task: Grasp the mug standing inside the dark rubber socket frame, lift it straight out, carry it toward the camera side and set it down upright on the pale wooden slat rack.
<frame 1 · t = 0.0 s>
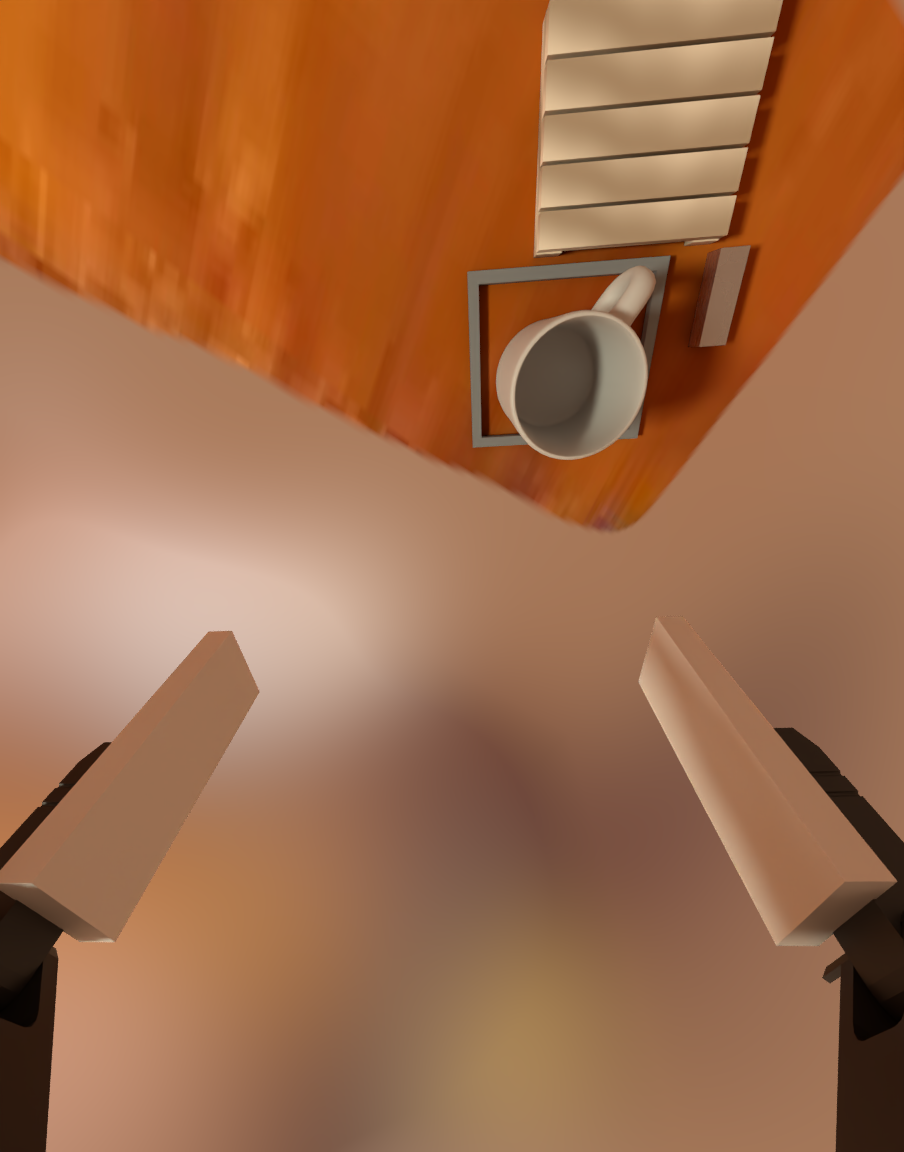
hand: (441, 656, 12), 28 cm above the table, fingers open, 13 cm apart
socket frame: (558, 362, 32), on the table
rack: (634, 145, 26), on the table
grey rectangular bar: (708, 301, 30), on the table
mug: (557, 358, 32), resting in socket frame
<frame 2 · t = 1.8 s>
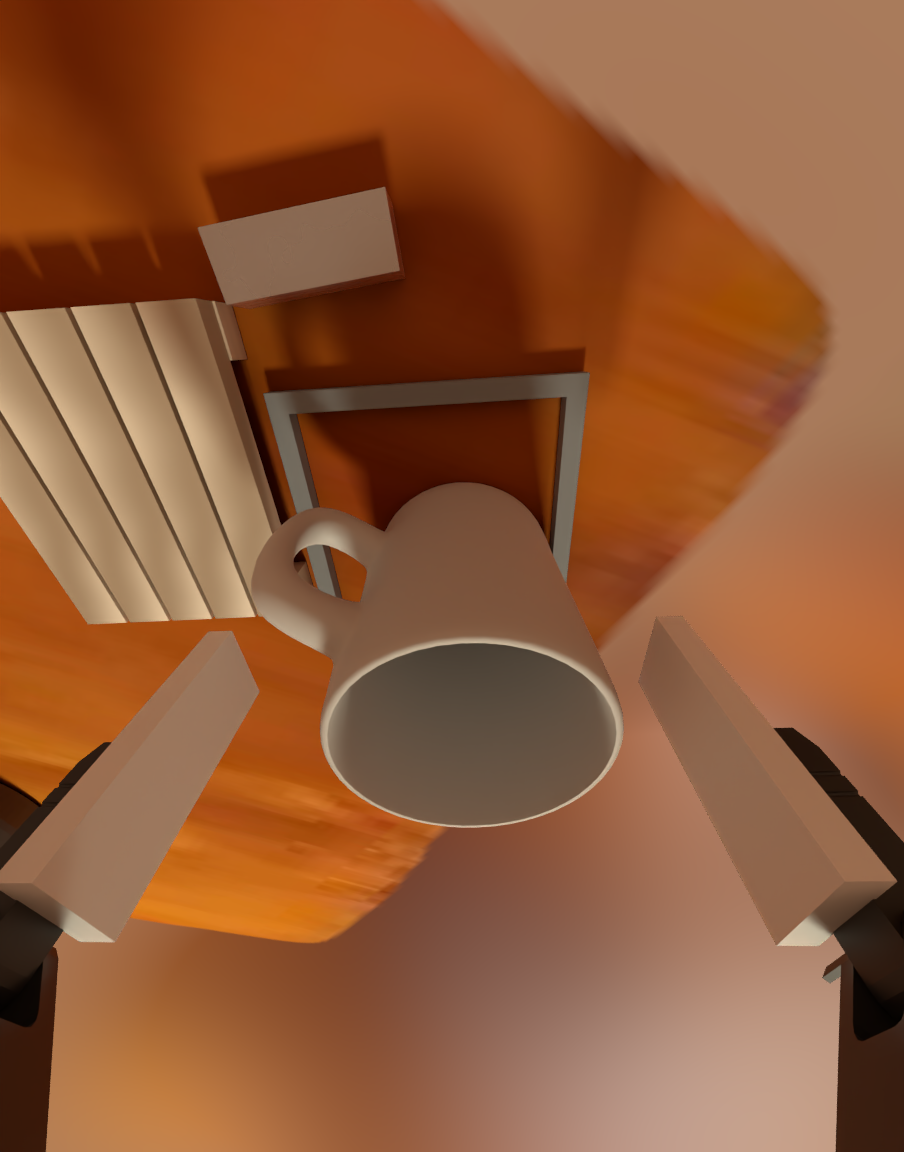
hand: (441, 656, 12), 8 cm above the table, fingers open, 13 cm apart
socket frame: (439, 544, 19), on the table
rack: (164, 480, 18), on the table
grey rectangular bar: (319, 261, 14), on the table
mug: (434, 542, 20), resting in socket frame
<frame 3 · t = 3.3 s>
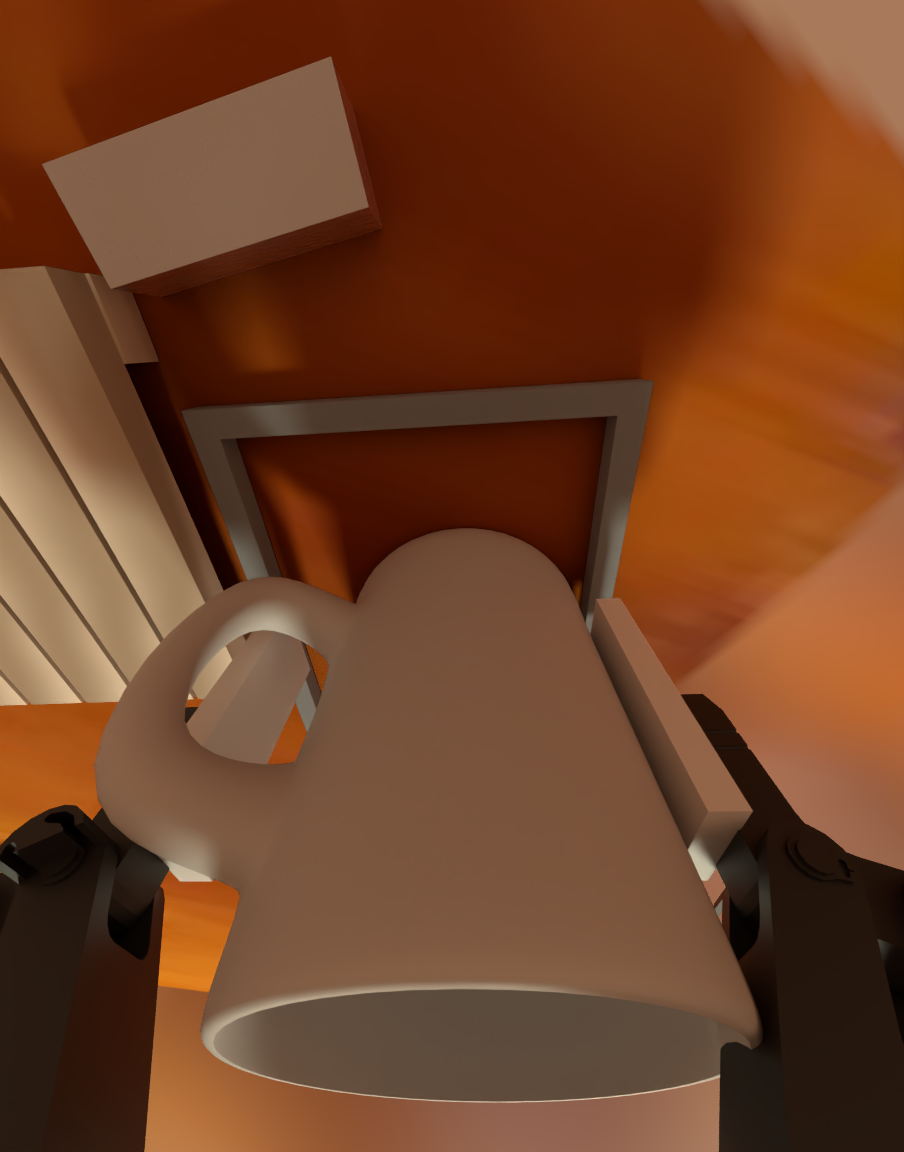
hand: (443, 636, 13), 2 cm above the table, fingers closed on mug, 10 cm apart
socket frame: (435, 603, 15), on the table
rack: (65, 524, 13), on the table
grey rectangular bar: (253, 214, 9), on the table
mug: (428, 600, 15), resting in socket frame, touching gripper
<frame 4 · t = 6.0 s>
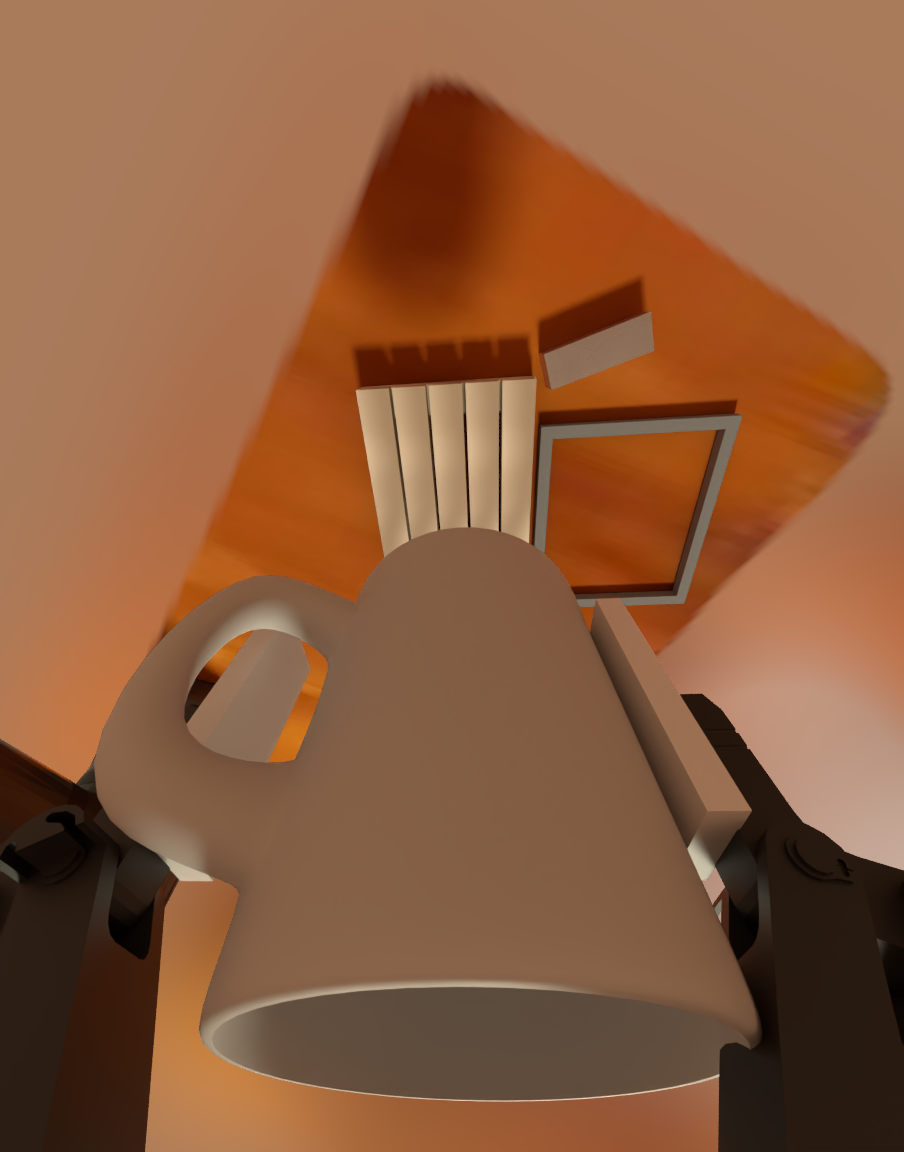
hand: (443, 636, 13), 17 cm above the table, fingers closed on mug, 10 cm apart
socket frame: (617, 521, 30), on the table
rack: (452, 479, 28), on the table
grey rectangular bar: (589, 351, 24), on the table
mug: (428, 600, 15), point 15 cm above the table, touching gripper
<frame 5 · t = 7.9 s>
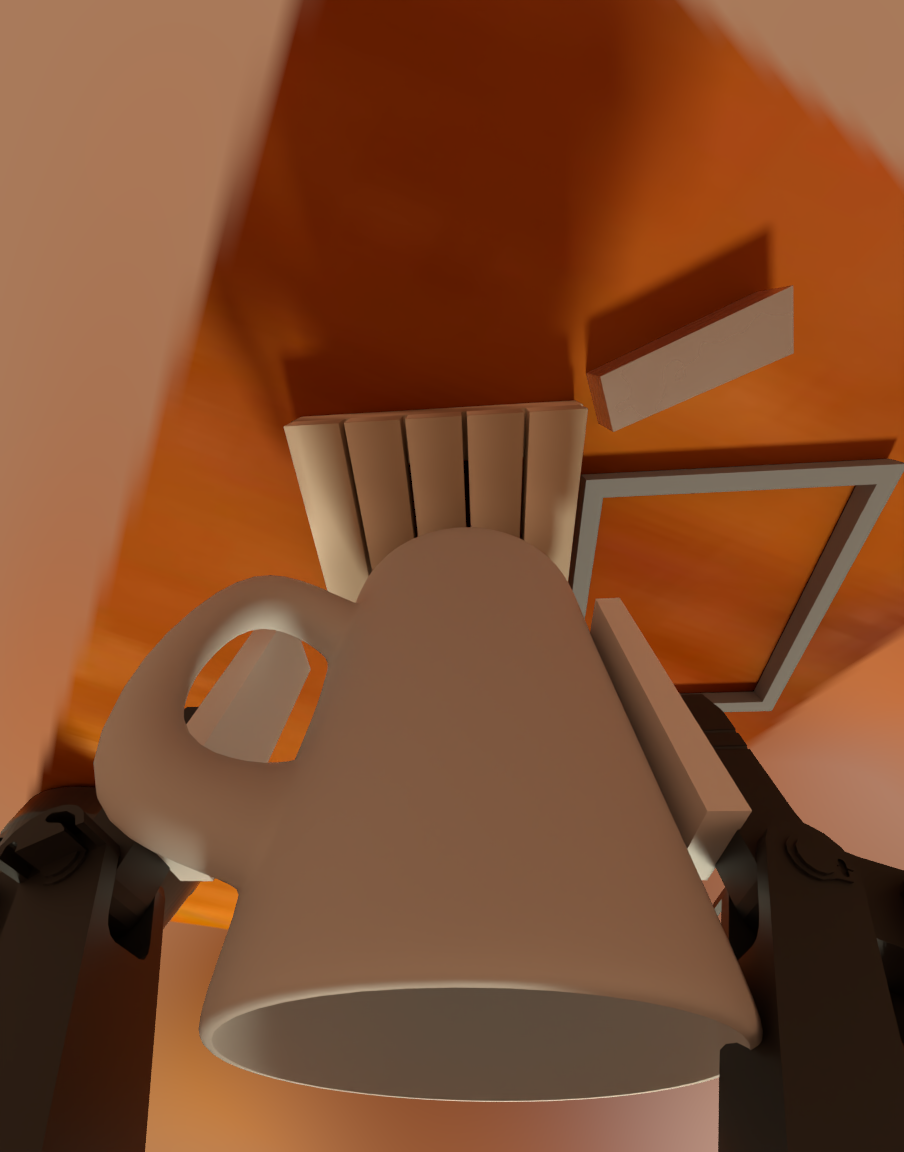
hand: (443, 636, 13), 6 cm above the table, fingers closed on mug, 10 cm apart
socket frame: (687, 607, 20), on the table
rack: (446, 550, 19), on the table
grey rectangular bar: (667, 362, 15), on the table
mug: (428, 600, 15), point 4 cm above the table, touching gripper
when the fingers open (5 cm above the table, at t = 9.1 s): mug drops 1 cm, resting on rack.
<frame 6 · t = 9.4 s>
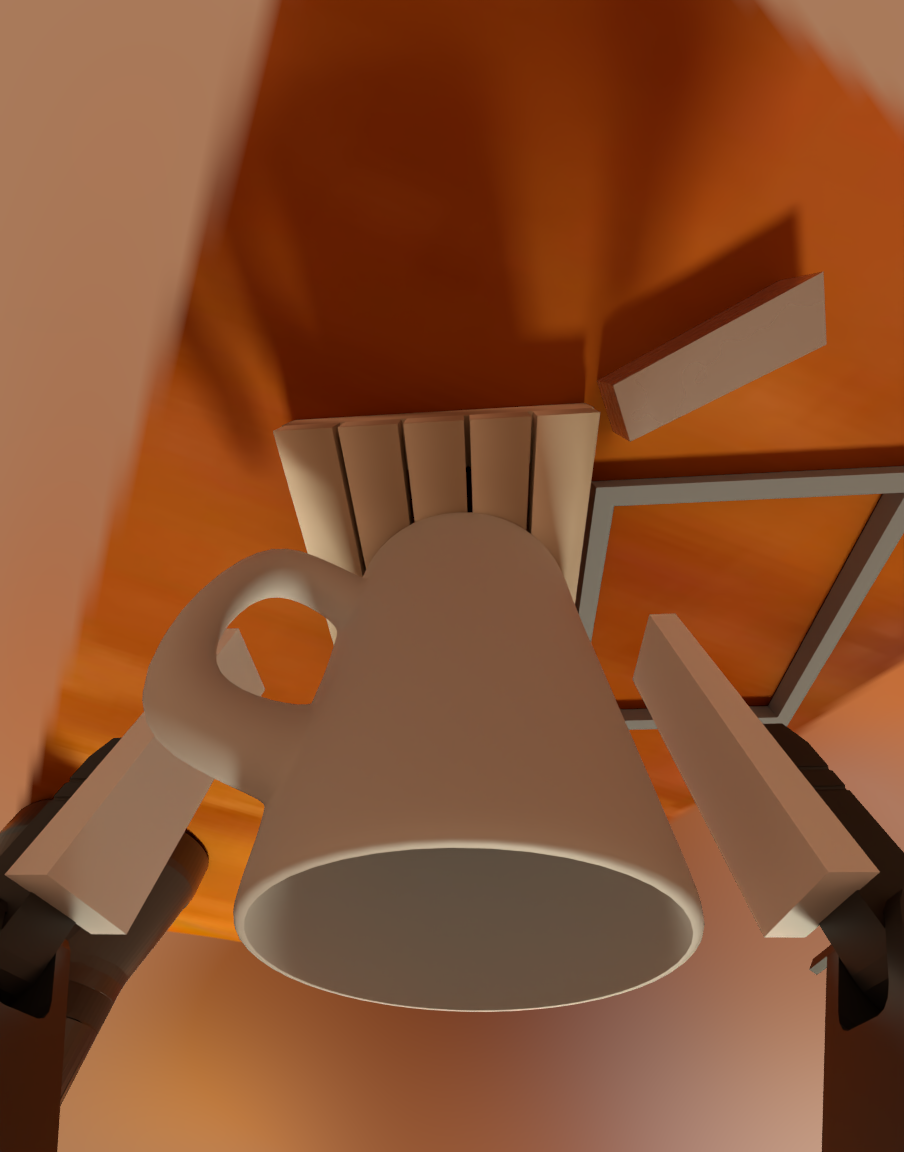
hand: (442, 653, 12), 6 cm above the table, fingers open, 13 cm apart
socket frame: (700, 619, 19), on the table
rack: (447, 559, 18), on the table
grey rectangular bar: (684, 362, 14), on the table
mug: (428, 581, 16), point 2 cm above the table, touching rack
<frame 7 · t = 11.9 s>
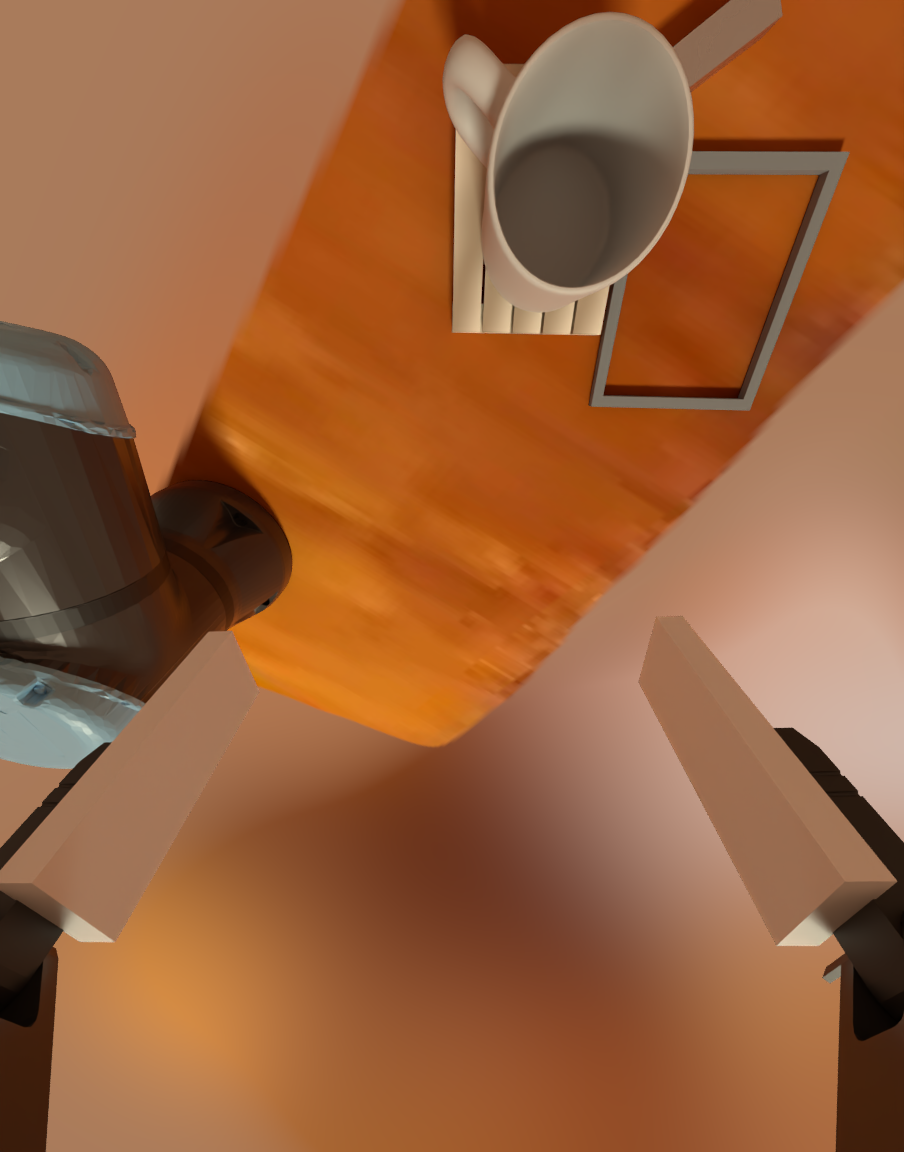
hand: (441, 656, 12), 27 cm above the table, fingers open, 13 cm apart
socket frame: (696, 298, 28), on the table
rack: (533, 225, 27), on the table
grey rectangular bar: (700, 60, 23), on the table
mug: (525, 214, 25), point 2 cm above the table, touching rack
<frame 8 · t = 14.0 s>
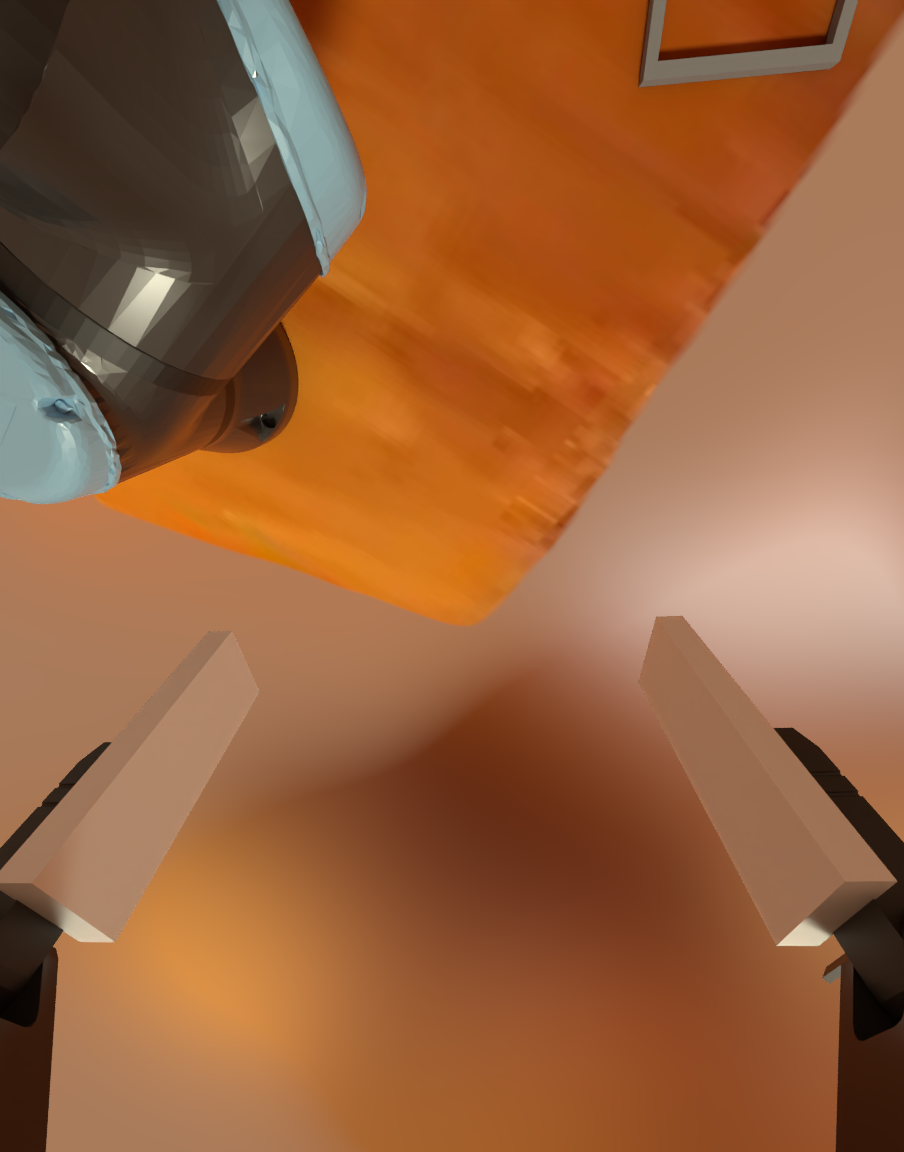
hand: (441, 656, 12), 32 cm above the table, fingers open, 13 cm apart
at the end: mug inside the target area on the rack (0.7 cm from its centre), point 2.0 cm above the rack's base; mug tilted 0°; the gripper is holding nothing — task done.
